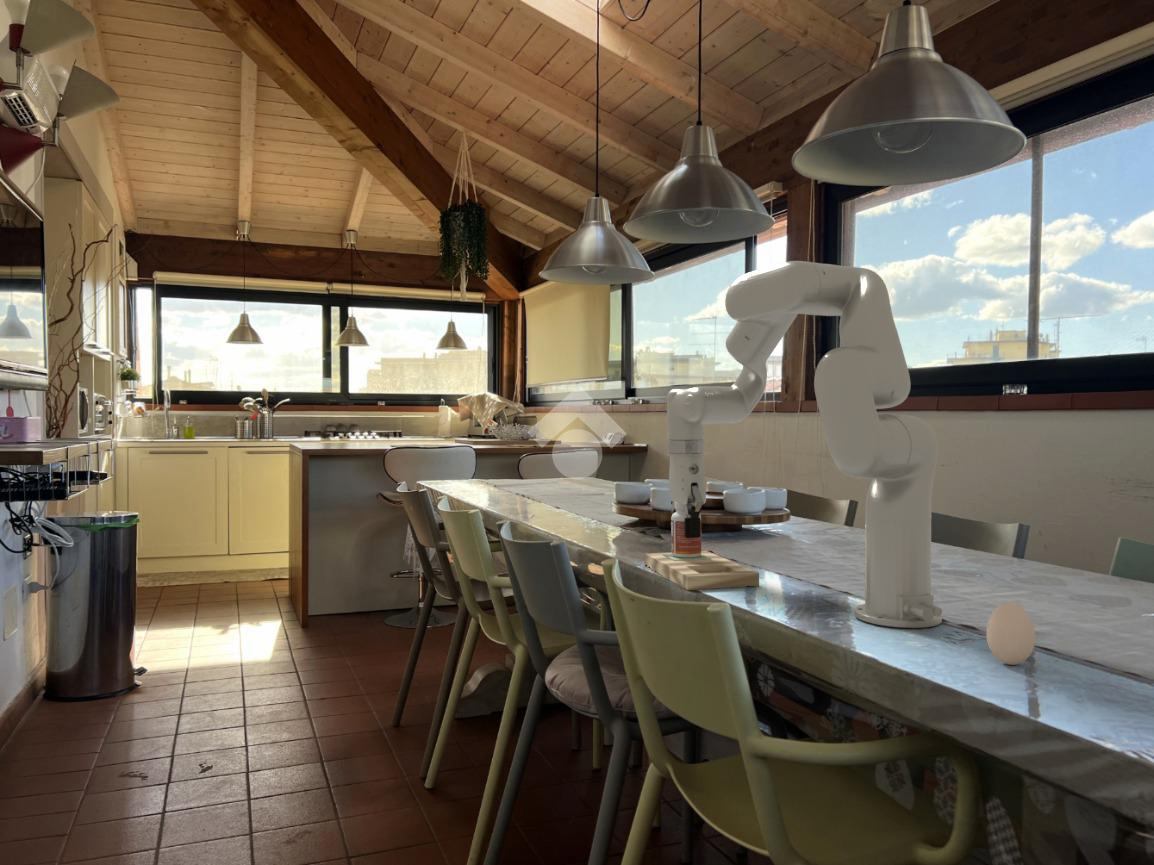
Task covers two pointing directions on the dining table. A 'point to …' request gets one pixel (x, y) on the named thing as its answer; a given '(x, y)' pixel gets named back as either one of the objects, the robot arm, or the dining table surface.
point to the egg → (1010, 633)
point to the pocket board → (701, 571)
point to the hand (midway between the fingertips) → (685, 534)
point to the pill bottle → (683, 536)
